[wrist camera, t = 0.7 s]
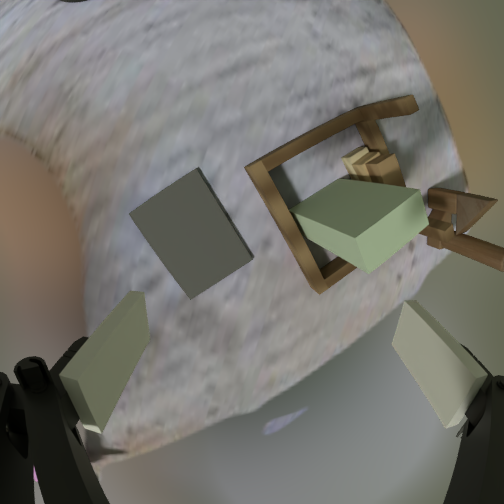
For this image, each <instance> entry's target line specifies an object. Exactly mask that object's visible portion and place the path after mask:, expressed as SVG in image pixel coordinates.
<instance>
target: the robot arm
mask: <svg viewBox="0 0 504 504" xmlns="http://www.w3.org/2000/svg"><path fill="white" fill-rule="evenodd" d="M61 1H64V2H81V1H86V0H61ZM149 341H150V333H149V326H148V319H147V312H146V304H145V295H144V292H138V291H129V293H128V294H127V295H126V296H125V297H124V298H123V299H122V300H121V301H120V303H119V304H118V305H117V306H116V307H115V308H114V309H113V310H112V312H111V313H110V314H109V315H108V316H107V317H106V319H105V320H104V321H103V322H102V323H101V324H100V325H99V327H98V328H97V329H96V330H95V331H94V333H93V334H92V335H91V336H90V337H89V338H88V337H82V338H80V339H78V340H77V341H75V342H74V343H73V344H72V345H71V346H70V347H69V348H68V351H66V352H65V353H64V354H63V357H61V358H60V359H59V360H58V361H57V363H56V364H55V365H54V366H53V367H52V369H51V370H50V371H49V370H48V368H47V365H46V363H45V361H44V360H43V359H42V358H40V357H36V356H33V357H27V358H24V359H22V360H21V361H19V362H18V363H17V365H16V366H15V368H14V373H15V375H16V378H17V380H18V382H19V384H12V383H10V381H9V379H8V377H7V375H6V374H4V373H3V372H0V504H35V498H34V468H35V472H36V476H37V480H38V483H39V487H40V490H41V494H42V497H43V500H44V503H45V504H110V503H109V501H108V499H107V498H106V496H105V494H104V492H103V489H102V488H101V485H100V483H99V481H98V479H97V477H96V475H95V472H94V470H93V468H92V465H91V463H90V460H89V458H88V456H87V453H86V450H85V448H84V445H83V442H82V440H81V437H80V434H79V431H78V429H77V427H76V424H77V422H78V421H79V419H80V421H81V422H82V424H83V426H84V428H85V429H88V430H91V431H94V432H98V433H101V434H102V432H103V430H104V428H105V426H106V424H107V422H108V420H109V418H110V416H111V414H112V412H113V410H114V408H115V406H116V404H117V402H118V400H119V398H120V396H121V394H122V392H123V390H124V388H125V386H126V384H127V382H128V380H129V378H130V376H131V374H132V373H133V371H134V369H135V367H136V365H137V363H138V361H139V359H140V357H141V356H142V354H143V352H144V350H145V348H146V346H147V344H148V343H149ZM392 346H393V347H394V349H395V350H396V352H397V353H398V355H399V356H400V358H401V359H402V361H403V362H404V363H405V365H406V367H407V368H408V370H409V371H410V373H411V374H412V376H413V377H414V379H415V380H416V382H417V383H418V385H419V387H420V388H421V390H422V391H423V393H424V394H425V396H426V398H427V399H428V401H429V402H430V404H431V406H432V407H433V409H434V411H435V412H436V414H437V416H438V417H439V419H440V421H441V422H442V424H443V426H444V427H445V429H446V428H449V427H452V426H454V425H457V424H458V423H459V422H460V420H461V419H462V417H463V416H464V414H465V415H466V417H467V418H468V419H467V421H466V422H465V424H464V425H463V426H462V428H461V429H460V431H459V432H458V433H457V435H456V437H458V436H459V435H460V434H461V433H462V432H463V434H462V437H461V438H462V439H461V443H460V448H459V452H458V457H457V461H456V464H455V468H454V472H453V475H452V479H451V482H450V485H449V488H448V491H447V494H446V497H445V500H444V503H443V504H504V376H500V375H498V376H495V377H493V376H492V374H491V373H490V372H489V371H488V370H487V369H486V368H485V367H484V365H483V364H482V363H481V362H480V361H478V360H477V358H476V357H475V356H473V354H472V353H471V352H470V351H469V350H468V348H466V347H465V346H463V345H462V344H460V343H459V342H458V341H457V340H456V339H455V338H454V337H453V336H452V335H451V334H450V333H449V332H448V331H447V330H446V329H445V328H444V327H443V326H442V325H441V324H440V323H439V322H438V321H437V320H436V319H435V318H434V317H433V316H432V315H431V314H430V313H429V312H428V311H427V310H425V309H424V308H423V307H422V306H421V305H420V304H419V303H418V302H417V301H416V300H408V301H404V304H403V308H402V311H401V315H400V318H399V322H398V325H397V329H396V332H395V335H394V338H393V341H392Z"/></svg>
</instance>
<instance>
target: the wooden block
mask: <svg viewBox="0 0 504 504" xmlns="http://www.w3.org/2000/svg"><path fill="white" fill-rule="evenodd" d="M497 201H498V200H497V199H494V198H489V197H485V196H480V195H475V194H470V193H465V192H460V191H455V190H449V189H444V188H431V189H428V207H429V208H432V209H433V210H432V212H431V214H430V215H429V217H430V218H434V219H438V220H441V221H445V222H448V223H451V219H452V214H457V221H456V231H454V235H455V236H454V237H453V238H452V239H451V240H450V241H449V242H448V243H444V242H442V241H439V240H436V239H433V238H431V237H428V238H427V245H429V246H432V247H434V248H437V249H443V248H446V249H448V250H451V251H453V252H456V253H459V254H461V255H463V256H466V257H468V258H471V259H473V260H476V261H478V262H480V263H483V264H485V265H487V266H490V267H492V268H494V269H497V270H499V271H501V272H504V248H503V247H500V246H497V245H494V244H491V243H489V242H486V241H483V240H480V239H477V238H474V237H472V236H469V235H466V234H463V233H465V232H467V231H468V230H469V229H470V228H471V227H472V226H473V225H474V224H475V223H476V222H477V221H478V220H479V219H480V218H481V217H482V216H483V215H484V214H485V213H486V212H487V211H488V210H489V209H490V208H491V207H492V206H493V205H494V204H495V203H496V202H497Z"/></svg>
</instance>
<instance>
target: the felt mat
mask: <svg viewBox="0 0 504 504" xmlns="http://www.w3.org/2000/svg"><path fill="white" fill-rule="evenodd" d="M129 215H130V217H131V218H132V220H133V221H134V223H135V224H136V226H137V227H138V228H139V230H140V231H141V233H142V234H143V236H144V237H145V239H146V240H147V241H148V243H149V244H150V246H151V247H152V249H153V250H154V251H155V253H156V254H157V256H158V257H159V258H160V260H161V261H162V263H163V264H164V265H165V267H166V268H167V269H168V271H169V272H170V273H171V275H172V276H173V277H174V279H175V280H176V281H177V283H178V284H179V285H180V287H181V288H182V289H183V291H184V292H185V293H186V295H187V296H188V297H189V298H190V300H191V299H193V298H194V297H196V296H197V295H199V294H200V293H202V292H203V291H205V290H207V289H208V288H210V287H211V286H213V285H214V284H216V283H217V282H219V281H220V280H222V279H224V278H225V277H227V276H228V275H230V274H231V273H233V272H234V271H236V270H237V269H239V268H241V267H242V266H244V265H245V264H247V263H248V262H250V261H251V260H253V259H252V258H251V256H250V254H249V253H248V251H247V249H246V248H245V246H244V245H243V243H242V241H241V240H240V238H239V237H238V235H237V233H236V232H235V230H234V229H233V227H232V225H231V224H230V222H229V221H228V219H227V217H226V216H225V214H224V212H223V211H222V209H221V208H220V206H219V204H218V203H217V201H216V200H215V198H214V196H213V195H212V193H211V192H210V190H209V188H208V187H207V185H206V183H205V182H204V180H203V179H202V177H201V175H200V174H199V172H198V171H197V169H194V170H193V171H191V172H190V173H188V174H186V175H185V176H183V177H182V178H180V179H179V180H177V181H176V182H174V183H173V184H171V185H170V186H168V187H167V188H165V189H164V190H162V191H161V192H159V193H158V194H156V195H155V196H153V197H152V198H150V199H149V200H147V201H146V202H145V203H143V204H142V205H140V206H139V207H138V208H136V209H135V210H133V211H132V212H131V213H129Z"/></svg>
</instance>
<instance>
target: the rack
mask: <svg viewBox="0 0 504 504" xmlns="http://www.w3.org/2000/svg"><path fill="white" fill-rule="evenodd" d="M418 110H419V108H418V105H417V103H416V101H415V98H414V96H413V95H408V96H403V97H398V98H393V99H389V100H384V101H380V102H376V103H372V104H368V105H364V106H360V107H357V108H354V109H352V110H350V111H348V112H346V113H344V114H342V115H340V116H338V117H336V118H334V119H332V120H330V121H328V122H326V123H324V124H322V125H320V126H318V127H316V128H314V129H312V130H310V131H308V132H306V133H304V134H302V135H300V136H299V137H297V138H295V139H293V140H291V141H289V142H287V143H286V144H284V145H282V146H280V147H278V148H276V149H275V150H273V151H271V152H269V153H268V154H266V155H264V156H262V157H260V158H259V159H257V160H255V161H254V162H252V163H250V164H248V165H247V166H245V167H244V168H245V170H246V172H247V173H248V175H249V177H250V178H251V180H252V182H253V184H254V185H255V187H256V189H257V191H258V192H259V194H260V196H261V198H262V199H263V201H264V203H265V205H266V206H267V208H268V210H269V212H270V213H271V215H272V217H273V219H274V221H275V222H276V224H277V226H278V228H279V230H280V231H281V233H282V235H283V237H284V239H285V240H286V242H287V244H288V246H289V248H290V250H291V251H292V253H293V255H294V257H295V259H296V261H297V262H298V264H299V266H300V268H301V270H302V272H303V274H304V275H305V277H306V279H307V281H308V283H309V285H310V287H311V288H312V289H313V290H315V291H316V292H317V293H318V294H319V295H320V294H321V293H323V292H324V291H325V290H327V289H328V288H330V287H331V286H332V285H334V284H335V283H337V282H338V281H339V280H341V279H342V278H343V277H345V276H346V275H348V274H349V273H350V272H352V271H353V270H354V269H356V268H357V267H356V266H354V265H353V264H351V263H349V262H348V261H346V260H344V259H342V258H341V257H339V256H338V257H337V258H335V259H334V260H333V261H331V262H330V263H328V264H327V265H325V266H324V267H323V268H321V269H320V270H319V268H318V266H317V264H316V262H315V260H314V258H313V256H312V254H311V252H310V250H309V248H308V246H307V244H306V242H305V241H304V239H303V237H302V235H301V233H300V231H299V229H298V227H297V225H296V223H295V221H294V219H293V218H292V216H291V214H290V212H289V210H288V208H287V206H286V204H285V203H284V201H283V199H282V197H281V195H280V193H279V191H278V190H277V188H276V186H275V184H274V182H273V181H272V179H271V177H270V175H269V173H268V171H270V170H272V169H273V168H275V167H277V166H278V165H280V164H282V163H284V162H285V161H287V160H289V159H291V158H292V157H294V156H296V155H298V154H299V153H301V152H303V151H305V150H307V149H308V148H310V147H312V146H314V145H316V144H318V143H319V142H321V141H323V140H325V139H327V138H329V137H331V136H332V135H334V134H336V133H338V132H340V131H342V130H344V129H346V128H348V127H350V126H351V125H353V124H355V125H356V127H357V129H358V131H359V133H360V135H361V138H362V140H363V142H364V144H365V147H367V149H368V151H369V152H379V153H380V155H381V154H389V151H388V149H387V146H386V144H385V141H384V139H383V136H382V134H381V132H380V130H379V127H378V125H377V123H376V121H375V120H377V119H384V118H390V117H397V116H404V115H411V114H413V113H414V112H416V111H418ZM427 218H428V222H429V225H427V226H426V227H425V228H424V229H423V230H422V231H421V232H419V234H422V235H425V236H428V237H431V238H433V239H436V240H439V241H442V242H444V243H448V242H449V241H450V240H451V239H452V238H453V237H454V236H455V235H454V229H453V224H451V223H448V222H445V221H441V220H438V219H434V218H430V217H427Z"/></svg>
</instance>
